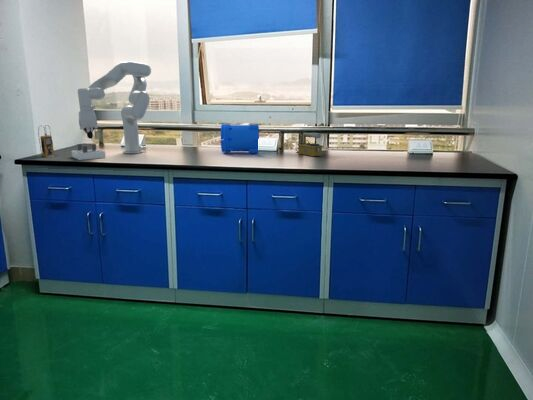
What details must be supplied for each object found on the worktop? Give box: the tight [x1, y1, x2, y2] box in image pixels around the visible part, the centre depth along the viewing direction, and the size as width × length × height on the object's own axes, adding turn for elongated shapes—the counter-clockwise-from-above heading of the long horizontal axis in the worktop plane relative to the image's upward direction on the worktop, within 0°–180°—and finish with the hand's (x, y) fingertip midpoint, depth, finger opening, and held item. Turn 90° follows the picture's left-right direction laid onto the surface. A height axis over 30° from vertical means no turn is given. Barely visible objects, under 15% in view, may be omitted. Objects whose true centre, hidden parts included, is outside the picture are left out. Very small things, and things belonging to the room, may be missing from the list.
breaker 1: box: [76, 143, 83, 150], centre depth 284 cm, size 2×2×4 cm
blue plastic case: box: [220, 123, 260, 154], centre depth 307 cm, size 25×22×19 cm
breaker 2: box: [82, 145, 88, 152], centre depth 275 cm, size 2×2×4 cm
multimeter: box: [37, 125, 59, 159], centre depth 285 cm, size 15×10×20 cm
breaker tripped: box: [90, 143, 97, 150], centre depth 284 cm, size 2×2×4 cm
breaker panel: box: [71, 148, 106, 161], centre depth 283 cm, size 16×16×4 cm
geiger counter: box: [295, 132, 325, 157], centre depth 299 cm, size 9×26×15 cm, turn 34°
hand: (90, 138), depth 282 cm, fingers closed
